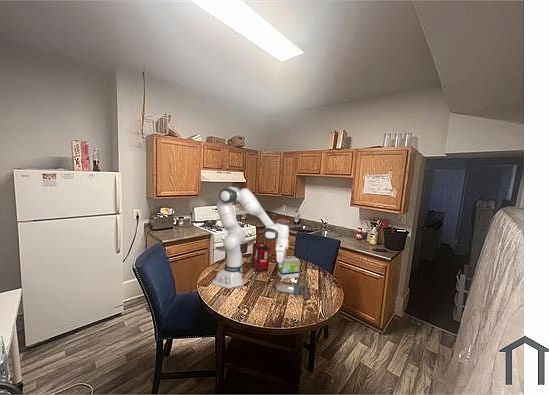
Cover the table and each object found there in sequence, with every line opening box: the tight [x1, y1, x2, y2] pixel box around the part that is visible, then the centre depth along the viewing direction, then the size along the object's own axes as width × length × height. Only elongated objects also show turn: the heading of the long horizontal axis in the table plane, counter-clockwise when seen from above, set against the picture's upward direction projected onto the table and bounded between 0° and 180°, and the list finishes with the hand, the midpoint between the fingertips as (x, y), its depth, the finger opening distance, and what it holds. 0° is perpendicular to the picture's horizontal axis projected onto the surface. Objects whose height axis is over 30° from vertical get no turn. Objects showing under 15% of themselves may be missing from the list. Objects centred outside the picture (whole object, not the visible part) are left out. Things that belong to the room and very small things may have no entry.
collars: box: [294, 279, 313, 299], centre depth 156 cm, size 11×10×9 cm
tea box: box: [276, 255, 301, 280], centre depth 182 cm, size 15×10×15 cm
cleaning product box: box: [251, 241, 270, 273], centre depth 195 cm, size 16×9×20 cm, turn 25°
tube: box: [275, 283, 303, 296], centre depth 157 cm, size 18×5×5 cm, turn 79°
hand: (281, 264), depth 157 cm, fingers open, 8 cm apart
